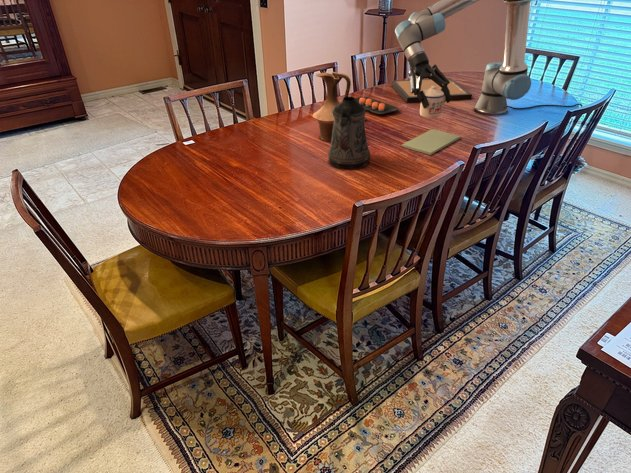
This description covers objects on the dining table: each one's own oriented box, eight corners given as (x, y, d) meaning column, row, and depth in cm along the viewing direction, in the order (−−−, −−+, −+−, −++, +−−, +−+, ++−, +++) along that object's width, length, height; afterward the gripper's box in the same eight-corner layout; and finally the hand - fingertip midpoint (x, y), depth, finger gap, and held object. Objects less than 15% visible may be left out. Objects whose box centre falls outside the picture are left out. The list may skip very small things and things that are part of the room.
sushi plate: (401, 112, 220) (402, 104, 218) (355, 125, 206) (355, 117, 204) (364, 99, 240) (364, 92, 238) (320, 110, 226) (320, 102, 224)
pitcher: (356, 132, 198) (358, 68, 182) (346, 146, 184) (347, 78, 169) (320, 129, 203) (318, 66, 187) (307, 142, 189) (305, 76, 174)
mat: (432, 131, 197) (432, 128, 196) (460, 138, 189) (460, 136, 188) (401, 146, 183) (401, 144, 182) (430, 155, 175) (430, 152, 174)
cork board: (391, 85, 261) (406, 103, 232) (392, 80, 260) (407, 97, 230) (449, 82, 263) (471, 99, 234) (449, 77, 262) (472, 94, 232)
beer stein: (362, 151, 180) (364, 89, 166) (377, 170, 164) (381, 104, 150) (323, 155, 177) (322, 93, 163) (335, 175, 161) (335, 109, 147)
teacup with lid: (429, 120, 174) (433, 90, 168) (414, 114, 181) (417, 85, 174) (451, 114, 180) (455, 85, 173) (435, 108, 186) (438, 81, 180)
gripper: (433, 59, 187) (454, 103, 184) (389, 67, 177) (410, 114, 174) (444, 48, 180) (465, 93, 177) (398, 55, 170) (421, 104, 167)
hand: (438, 104), depth 176 cm, fingers closed on teacup with lid, 12 cm apart
